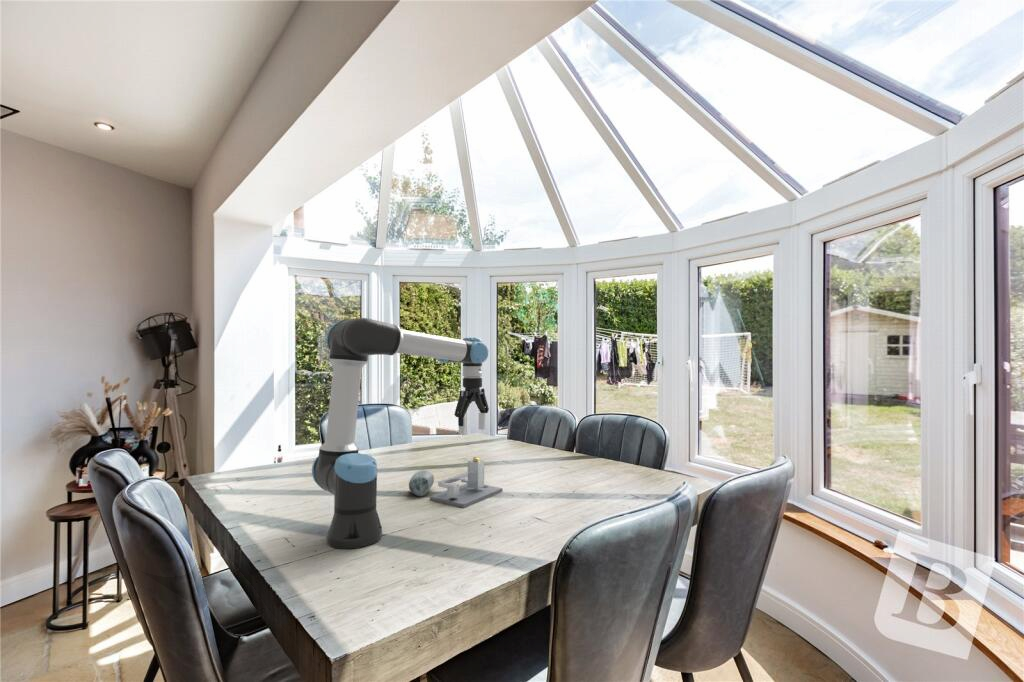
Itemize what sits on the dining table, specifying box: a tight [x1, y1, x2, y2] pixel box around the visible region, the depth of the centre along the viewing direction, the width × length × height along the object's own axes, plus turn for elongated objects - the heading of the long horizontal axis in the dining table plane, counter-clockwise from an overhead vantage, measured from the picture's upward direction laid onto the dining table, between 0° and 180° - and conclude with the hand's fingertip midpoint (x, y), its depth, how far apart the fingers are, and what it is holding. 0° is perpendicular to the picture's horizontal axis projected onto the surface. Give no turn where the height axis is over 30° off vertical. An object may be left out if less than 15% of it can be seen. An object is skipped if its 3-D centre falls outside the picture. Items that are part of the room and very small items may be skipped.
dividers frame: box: [437, 471, 468, 499], centre depth 180 cm, size 24×9×5 cm, turn 147°
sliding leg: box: [460, 456, 485, 490], centre depth 183 cm, size 4×9×12 cm, turn 57°
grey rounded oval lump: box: [408, 469, 435, 497], centre depth 182 cm, size 14×10×10 cm
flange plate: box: [429, 483, 503, 509], centre depth 179 cm, size 24×16×1 cm, turn 147°
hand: (472, 432), depth 183 cm, fingers open, 13 cm apart
